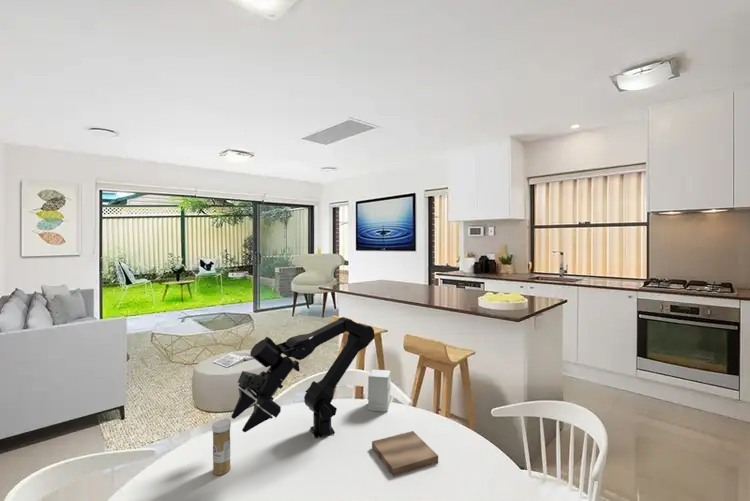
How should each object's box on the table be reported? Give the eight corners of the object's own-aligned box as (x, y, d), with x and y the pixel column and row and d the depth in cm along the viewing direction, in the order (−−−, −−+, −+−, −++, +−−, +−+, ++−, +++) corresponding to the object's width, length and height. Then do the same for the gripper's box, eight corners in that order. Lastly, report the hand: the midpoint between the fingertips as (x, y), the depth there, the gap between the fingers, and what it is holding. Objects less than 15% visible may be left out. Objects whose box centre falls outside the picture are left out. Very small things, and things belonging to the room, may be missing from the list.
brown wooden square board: (372, 447, 107) (372, 441, 107) (413, 437, 113) (413, 430, 112) (393, 476, 94) (393, 468, 94) (438, 462, 100) (438, 455, 100)
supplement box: (387, 412, 129) (387, 377, 128) (367, 410, 130) (367, 376, 130) (391, 403, 136) (391, 370, 136) (371, 401, 138) (371, 368, 137)
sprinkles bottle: (208, 473, 95) (208, 423, 95) (222, 463, 100) (221, 416, 99) (222, 477, 94) (221, 427, 93) (235, 467, 98) (234, 419, 98)
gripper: (244, 352, 109) (206, 398, 103) (269, 369, 95) (226, 424, 88) (270, 372, 114) (234, 416, 108) (296, 391, 100) (258, 444, 93)
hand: (237, 424), depth 99 cm, fingers open, 9 cm apart
